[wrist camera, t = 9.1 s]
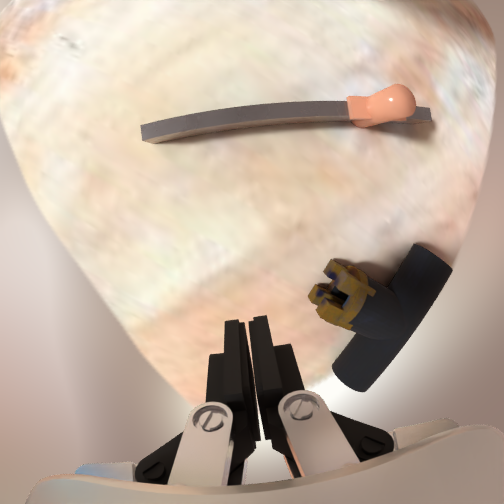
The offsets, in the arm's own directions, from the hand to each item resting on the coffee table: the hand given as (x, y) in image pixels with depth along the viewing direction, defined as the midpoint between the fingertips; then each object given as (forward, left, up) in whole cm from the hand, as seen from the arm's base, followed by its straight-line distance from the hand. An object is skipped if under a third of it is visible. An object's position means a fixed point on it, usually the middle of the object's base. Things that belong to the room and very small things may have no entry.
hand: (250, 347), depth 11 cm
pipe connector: (+7, +11, -14) cm, 19 cm away
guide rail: (-11, +6, -14) cm, 19 cm away
